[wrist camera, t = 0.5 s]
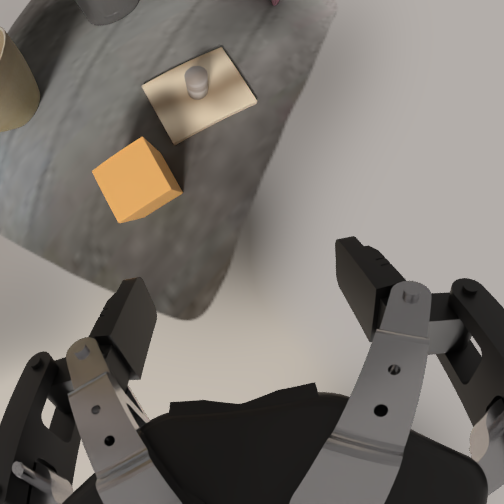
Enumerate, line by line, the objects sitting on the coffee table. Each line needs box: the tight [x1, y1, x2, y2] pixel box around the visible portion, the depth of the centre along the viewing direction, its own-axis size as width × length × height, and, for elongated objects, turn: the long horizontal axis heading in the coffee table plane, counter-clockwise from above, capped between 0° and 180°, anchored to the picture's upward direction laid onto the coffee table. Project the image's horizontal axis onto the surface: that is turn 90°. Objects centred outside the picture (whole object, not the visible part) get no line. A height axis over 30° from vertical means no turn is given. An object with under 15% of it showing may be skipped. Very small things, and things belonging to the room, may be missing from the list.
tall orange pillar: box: [92, 136, 183, 223], centre depth 28 cm, size 6×6×10 cm
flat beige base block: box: [142, 47, 257, 145], centre depth 29 cm, size 10×12×6 cm
